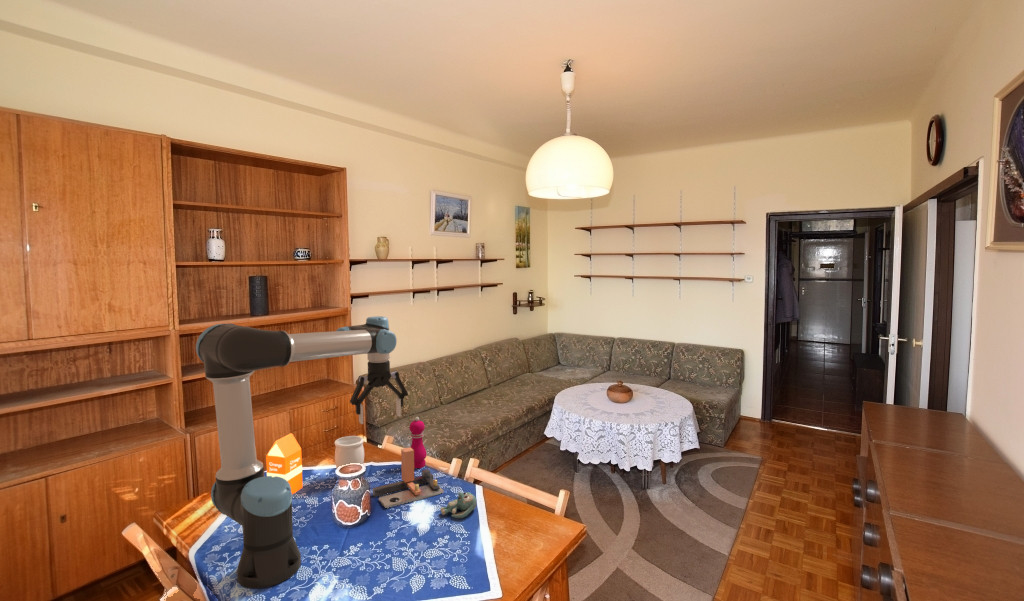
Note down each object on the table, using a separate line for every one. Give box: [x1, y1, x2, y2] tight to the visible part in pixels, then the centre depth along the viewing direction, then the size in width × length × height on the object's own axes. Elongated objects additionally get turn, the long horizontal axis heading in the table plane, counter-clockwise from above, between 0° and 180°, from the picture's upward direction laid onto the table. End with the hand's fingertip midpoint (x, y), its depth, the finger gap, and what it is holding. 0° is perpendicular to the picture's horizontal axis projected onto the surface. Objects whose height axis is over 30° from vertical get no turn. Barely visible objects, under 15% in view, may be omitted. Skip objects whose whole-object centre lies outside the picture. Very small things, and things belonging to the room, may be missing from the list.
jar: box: [334, 435, 365, 469], centre depth 182 cm, size 11×10×15 cm
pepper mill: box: [409, 416, 427, 470], centre depth 194 cm, size 7×7×20 cm
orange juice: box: [265, 432, 303, 495], centre depth 172 cm, size 8×9×20 cm
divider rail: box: [372, 468, 440, 498], centre depth 172 cm, size 11×22×4 cm, turn 123°
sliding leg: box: [400, 446, 421, 495], centre depth 172 cm, size 12×4×13 cm, turn 33°
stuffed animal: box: [439, 491, 478, 519], centre depth 158 cm, size 11×7×12 cm
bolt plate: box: [378, 484, 444, 509], centre depth 169 cm, size 7×21×1 cm, turn 123°
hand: (380, 419), depth 172 cm, fingers open, 13 cm apart
